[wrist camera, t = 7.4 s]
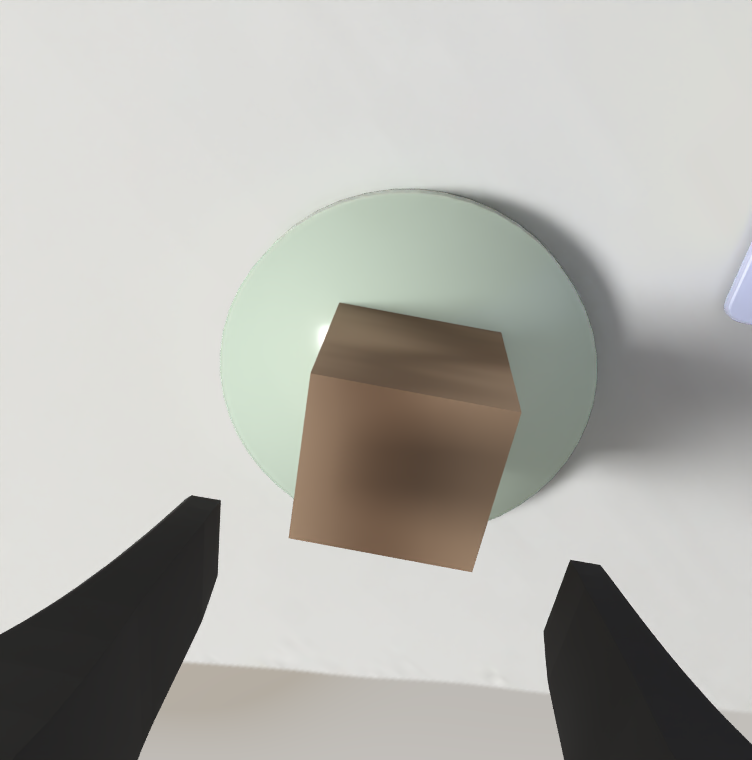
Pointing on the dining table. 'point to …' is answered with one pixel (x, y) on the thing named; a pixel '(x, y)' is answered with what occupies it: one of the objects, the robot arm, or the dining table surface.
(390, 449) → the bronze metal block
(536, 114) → the dining table surface
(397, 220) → the pale green domed disc
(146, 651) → the robot arm
